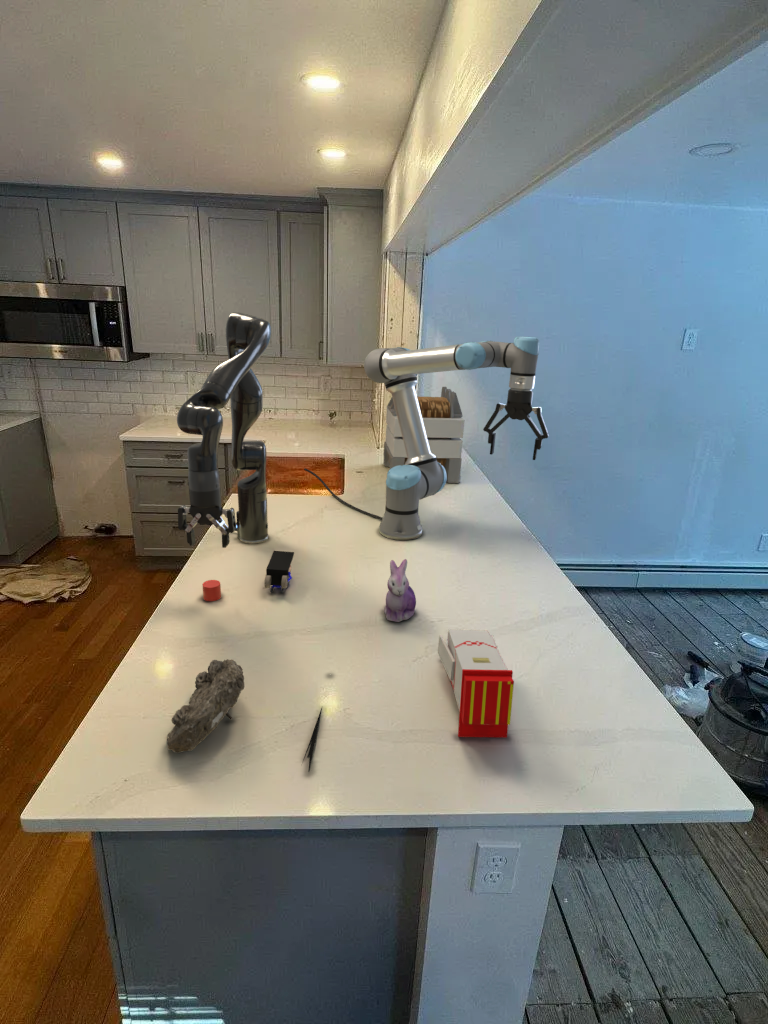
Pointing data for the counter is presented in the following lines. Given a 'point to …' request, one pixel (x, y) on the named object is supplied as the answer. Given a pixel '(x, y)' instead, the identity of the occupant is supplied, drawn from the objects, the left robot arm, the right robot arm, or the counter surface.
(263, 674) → the counter surface
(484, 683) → the toy
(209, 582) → the cylinder
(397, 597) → the figurine
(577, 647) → the counter surface
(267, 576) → the black rover
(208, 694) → the fossil
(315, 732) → the feather
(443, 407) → the white wooden crate
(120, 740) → the counter surface
